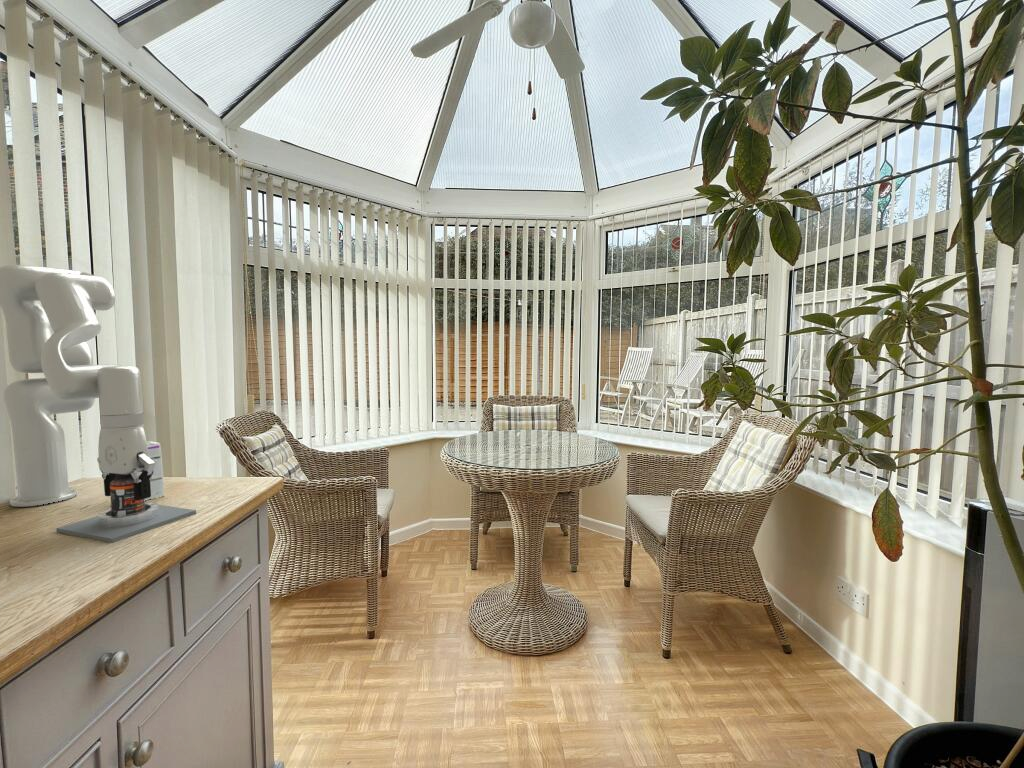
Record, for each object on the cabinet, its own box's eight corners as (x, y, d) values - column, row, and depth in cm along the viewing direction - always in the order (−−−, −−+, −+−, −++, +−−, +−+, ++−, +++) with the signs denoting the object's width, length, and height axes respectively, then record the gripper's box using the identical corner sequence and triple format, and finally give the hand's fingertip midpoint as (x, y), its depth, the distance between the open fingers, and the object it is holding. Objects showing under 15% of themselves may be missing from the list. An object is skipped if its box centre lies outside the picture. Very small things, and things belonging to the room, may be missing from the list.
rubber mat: (56, 531, 105) (56, 528, 104) (143, 505, 121) (143, 502, 121) (112, 542, 99) (112, 538, 98) (196, 513, 115) (195, 510, 115)
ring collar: (88, 524, 107) (87, 515, 107) (138, 508, 117) (137, 500, 116) (119, 529, 103) (119, 520, 103) (168, 513, 113) (168, 505, 113)
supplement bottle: (127, 524, 106) (123, 473, 106) (105, 522, 108) (101, 472, 107) (152, 514, 112) (148, 466, 111) (131, 513, 114) (127, 465, 113)
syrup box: (165, 496, 129) (162, 442, 128) (139, 502, 124) (135, 446, 123) (156, 492, 132) (152, 440, 131) (130, 498, 127) (126, 444, 126)
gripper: (77, 422, 108) (83, 497, 109) (130, 426, 102) (136, 505, 103) (115, 417, 115) (120, 488, 116) (166, 420, 109) (171, 495, 110)
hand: (127, 496), depth 110 cm, fingers open, 9 cm apart
